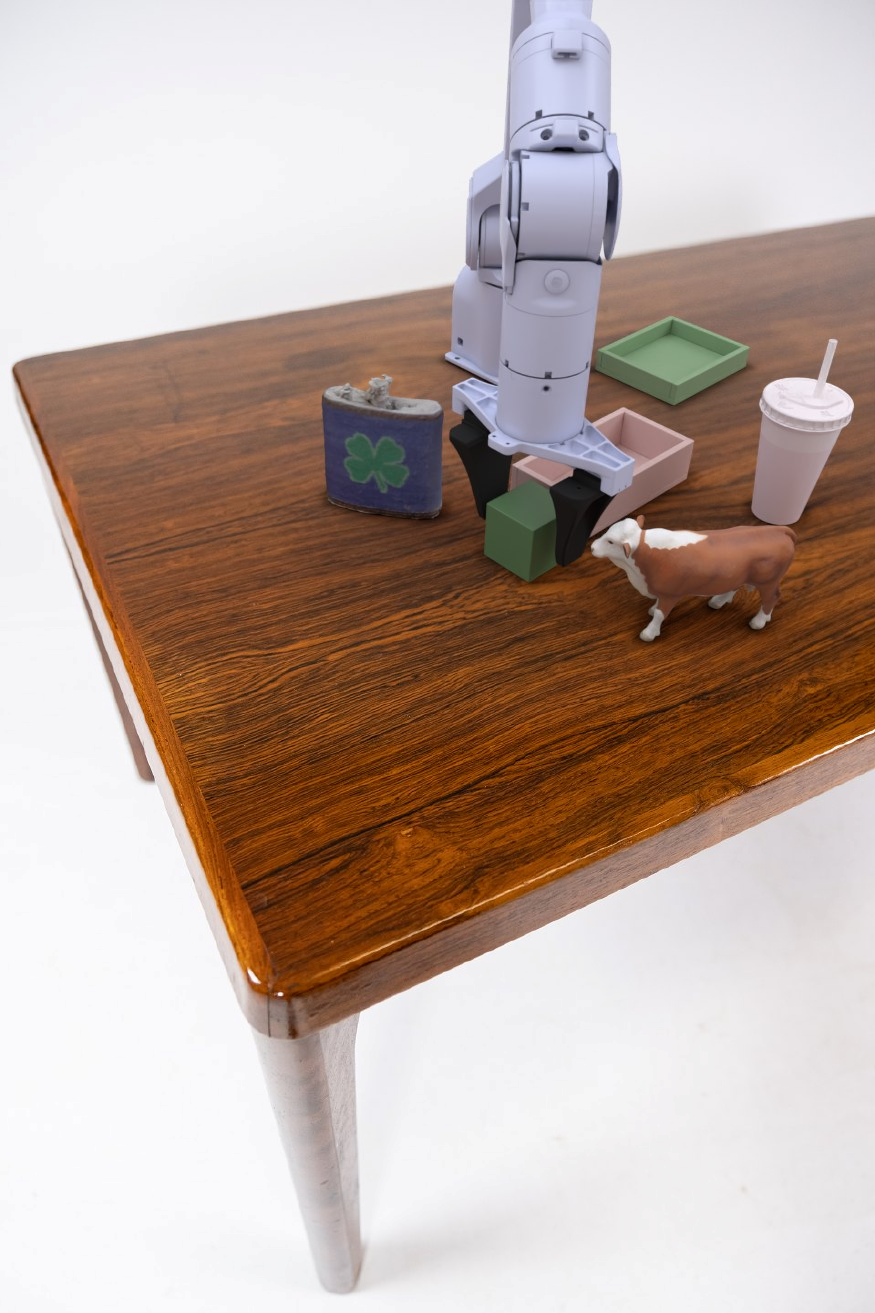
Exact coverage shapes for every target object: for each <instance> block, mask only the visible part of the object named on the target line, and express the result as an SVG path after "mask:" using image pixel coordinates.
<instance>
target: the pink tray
mask: <svg viewBox="0 0 875 1313" xmlns="http://www.w3.org/2000/svg"><path fill="white" fill-rule="evenodd" d="M590 423H591V424H592V425H593V426H595V427H596V428H597V429H598V430H599V431H600V432H601V433H602V434H603V435H604V436H605V437H606V438H607V439H608V440H609V441H610V442H611V443H612V444H613V445H614V446H616V447H617V448H618V449H619V450H620V451H622V452H623V453H625V454H626V455H628V456H630V457H632V458H633V459H635V466H634V472H633V478H632V484H631V486H629V487H627V488H626V489H624V490H623V491H621V492H619V493H618V494H617V495H616V496H615V498H614V499H613V500H612V501H611V503H610V504H609V505H608V507H607V508H606V509H605V511H604V512H603V514H602V515H601V517H600V519H599V520H598V522H597V524H596V526H595V527H594V529H593V531H592V533H591V535H590V538H591V537H593V536H595V535H597V534H598V533H600V532H601V531H603V530H604V529H607V527H610V526H612V525H614V524H615V523H617V522H619V520H621V519H623V518H625V517H626V516H628V515H629V514H631V513H633V512H634V511H635V510H638V509H639V508H641V507H642V506H644V505H646V504H647V503H649V502H651V501H652V500H654V499H656V498H657V497H659V496H660V495H662V494H664V493H665V492H667V491H668V490H670V489H672V488H674V487H675V486H677V485H679V484H681V483H682V482H684V481H685V480H687V478H688V475H689V474H688V473H689V469H690V464H691V460H692V456H693V450H694V445H695V440H694V439H692V438H690V437H687V436H685V435H684V434H681V433H679V432H677V431H675V430H672V429H671V428H669V427H666V426H664V425H662V424H660V423H658V422H656V421H654V420H651V419H649V418H647V417H645V416H644V415H641V414H639V413H637V412H635V411H633V410H631V409H628V408H627V407H625V406H624V407H623V406H622V407H620V408H619V409H617V410H615V411H612V412H611V413H609V414H607V415H605V416H603V417H601V418H599V419H597V420H595V421H594V422H590ZM573 470H574V469H573V468H571V467H569V466H567V465H565V464H562V463H558V462H554V461H551V460H547V459H543V458H539V457H536V456H532V455H528V456H526V457H524V458H522V459H520V460H518V461H517V462H515V463H513V464H511V474H510V475H511V477H510V488H509V489H510V490H509V491H511V490H512V489H514V488H516V487H518V486H520V485H522V484H524V483H525V482H527V481H529V480H531V481H533V482H535V483H537V484H539V485H540V486H542V487H544V488H546V489H548V490H550V487H551V486H552V485H554V484H556V483H558V482H560V481H561V480H563V479H565V478H567V477H569V476H570V477H571V476H573Z"/></svg>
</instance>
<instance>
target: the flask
mask: <svg viewBox="0 0 875 1313" xmlns="http://www.w3.org/2000/svg"><path fill="white" fill-rule="evenodd" d="M393 382H394V379H393V377H392V376H389V375H387V374H386V373H385V374H384V373H383V374H381V377H371V378H370V380H369V381H368V386H369V388H367V389H366V390H362V389H359V388H357V387H355V386H354V387H353V386H351V383H350V382H346V383H345V384H344V385H331V386H329V387H327V388H325V389H324V391H323V392H322V395H321V410H322V412H321V413H322V414H321V415H322V426H323V428H322V429H323V430H322V431H323V446H324V448H323V449H324V476H325V485H326V494H327V501H328V502H330V503H331V504H332V505H336V506H338V507H341V508H346V509H349V510H352V511H358V512H360V513H365V514H372V515H377V514H378V515H383V516H388V517H395V518H404V519H405V518H406V519H414V520H421V519H429V520H430V519H434V518H435V517H437V516H439V514H440V512H441V510H442V507H443V448H444V446H443V427H444V426H443V425H444V418H445V413H444V409H443V406H442V405H441V404H440V402H439V401H438V400H433V399H429V398H428V399H427V398H425V399H424V398H421V399H420V398H409V397H401V396H393V395H390V384H392V383H393Z"/></svg>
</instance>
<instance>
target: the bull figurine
mask: <svg viewBox="0 0 875 1313" xmlns="http://www.w3.org/2000/svg"><path fill="white" fill-rule="evenodd" d="M644 523H645V516H644V515H642V514H639V515H637V517H636V518H635V519H632V518H630V517H629V518H628V517H627V518H625V519H623V520H620V521H617V522H615V523H613V524H611V525H610V526H609V529H608V530H607V531H606V533H604V534H603V535H602V536H601V537H599V538H597V539H595V540H594V541H593V542H592V543H591V545H590V549H591V553H592V555H593V557H595V558H599V559H603V558H607V559H609V560H610V561H611V562H612V563H613V564H614V565H615V567H617V568H620V569H622V570H623V571H625V573H626V575H627V578H628V581H629V583H630V584H631V585H632V586H633V587H634V589H636V590H637V591H638V592H639V593H640V595H641V596H644V597H647V598H648V599H651V600H656V602H655V604H654V605H653V606H652V607H650V608H649V610H648V615H649V616H651V617H652V620H651V621H650V622H649V623H648V625H647V627H646V628H644V629H643V630H641V632H640V633H639V638H640V639H641V640H642V641H644V642H653V641H654V639H655V638H656V637H659V636H660V635H661V625H662V622H664V620H666V619H667V618H668V616H669V614H670V613H671V611H672V610H673V608H674V607H676V605H677V604H678V603H679V602H680V601H681V600H682V599H683V598H684V597H685V596H694V597H695V596H697V597H712V598H711V599H709V601H708V602H707V604H708V606H709V607H710V608H712V609H716V610H718V609H721V608H722V606H724V605H725V604H726V603H728V604H731V603H732V601H733V598H734V596H735V594H736V593H737V592H738V591H739V590H741V588H742V587H744V586H746V588H745V589H746V591H747V592H752V591H754V590H756V589H757V591H758V593H759V597H760V598H761V606H760V609H759V611H758V612H757V613H756V615H755V616H753V618H752V619H751V620H750V621H749V622H748V625H749V626H750V628H751V629H753V630H761V629H763V628H764V627H765V626H766V622H770V621H771V617H772V616H771V615H772V612H773V610H774V608H775V606H776V604H777V602H779V600H780V599H781V598H782V595H783V592H782V590H781V588H780V581H781V580H782V578H783V577H784V576H785V574H786V573H787V572H788V571H789V569H790V567H791V566H792V564H793V561H794V558H795V553H796V549H795V546H796V543H797V539H798V538H797V537H798V536H797V533H795V531H794V530H793V529H792V528H790V527H789V526H787V525H773V524H771V525H770V524H767V525H755V526H753V525H739V526H738V525H737V526H733V527H730V528H723V529H707V530H706V529H704V530H696V531H695V530H690V529H675V530H670V529H666V528H662V527H658V528H657V527H656V528H651V529H643V528H644Z"/></svg>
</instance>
